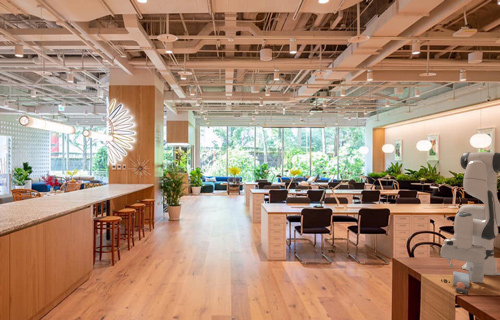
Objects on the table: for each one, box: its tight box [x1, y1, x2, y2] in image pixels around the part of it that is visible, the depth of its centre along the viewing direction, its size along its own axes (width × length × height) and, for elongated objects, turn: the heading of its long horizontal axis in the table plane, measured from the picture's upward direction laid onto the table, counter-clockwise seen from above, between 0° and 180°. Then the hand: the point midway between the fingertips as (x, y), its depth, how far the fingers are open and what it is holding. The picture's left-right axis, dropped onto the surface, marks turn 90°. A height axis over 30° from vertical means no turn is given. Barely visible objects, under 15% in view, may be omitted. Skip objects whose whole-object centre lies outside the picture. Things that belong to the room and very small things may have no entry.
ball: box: [456, 282, 466, 289], centre depth 173 cm, size 4×4×4 cm
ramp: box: [452, 270, 470, 289], centre depth 182 cm, size 12×7×4 cm, turn 150°
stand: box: [440, 278, 451, 284], centre depth 184 cm, size 4×4×1 cm
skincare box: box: [467, 262, 485, 284], centre depth 187 cm, size 6×4×12 cm
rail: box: [455, 287, 469, 295], centre depth 167 cm, size 1×5×2 cm, turn 60°
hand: (461, 268), depth 186 cm, fingers open, 8 cm apart
